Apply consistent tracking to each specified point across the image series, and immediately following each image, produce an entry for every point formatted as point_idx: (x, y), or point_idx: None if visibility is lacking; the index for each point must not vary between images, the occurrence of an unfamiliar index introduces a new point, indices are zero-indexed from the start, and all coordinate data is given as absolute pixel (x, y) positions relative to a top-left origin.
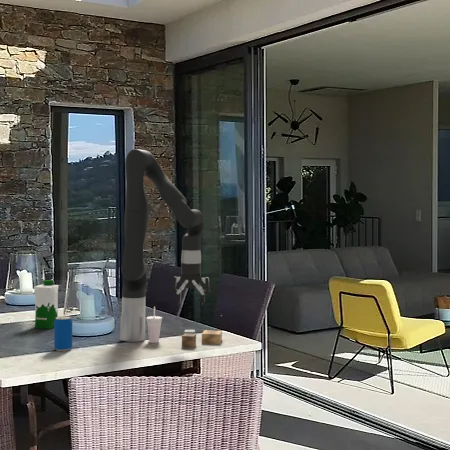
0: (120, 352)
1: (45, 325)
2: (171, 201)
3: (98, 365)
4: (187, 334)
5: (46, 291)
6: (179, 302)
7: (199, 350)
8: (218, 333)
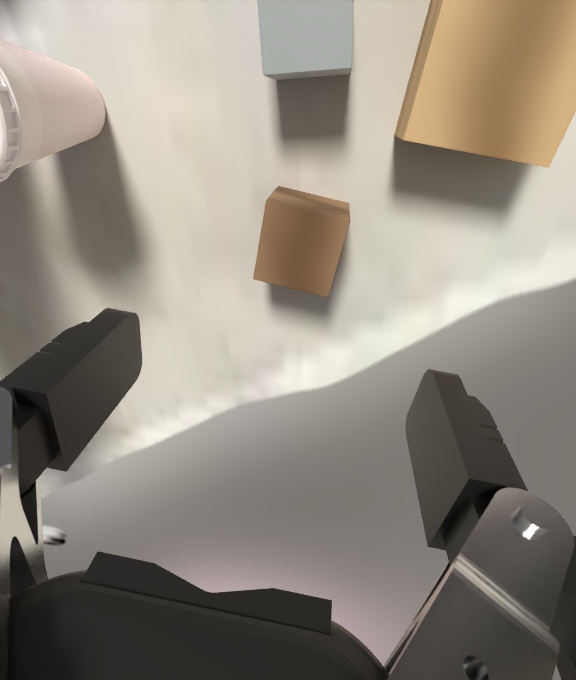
0: (16, 342)
1: None
2: None
3: None
4: (287, 236)
5: None
6: (123, 382)
7: (359, 322)
8: (553, 125)
